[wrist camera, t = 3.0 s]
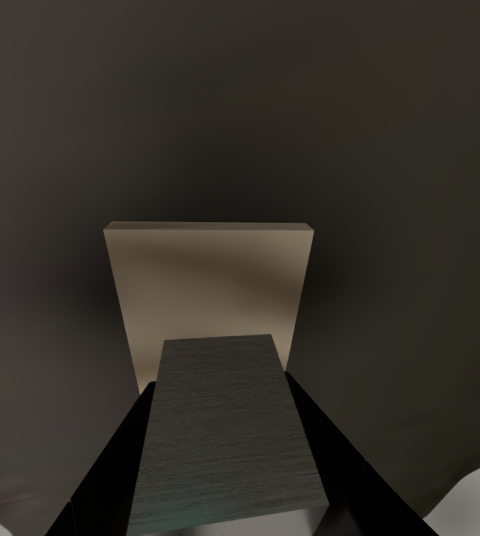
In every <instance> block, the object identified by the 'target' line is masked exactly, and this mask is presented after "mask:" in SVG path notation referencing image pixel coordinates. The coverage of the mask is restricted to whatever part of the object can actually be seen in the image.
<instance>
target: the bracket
mask: <svg viewBox="0 0 480 536" xmlns="http://www.w3.org/2000/svg"><path fill="white" fill-rule="evenodd" d="M103 231H104V236H105V240H106V245H107V249H108V254H109V258H110V263H111V267H112V271H113V276H114V280H115V285H116V289H117V294H118V298H119V303H120V307H121V312H122V316H123V321H124V325H125V330H126V334H127V339H128V343H129V347H130V352H131V356H132V361H133V365H134V370H135V374H136V379H137V383H138V388H139V392H140V395H141V393H142V392H143V390H144V389H145V387H146V386H147V385H148V383H149V382H151V381H156V380H157V375H158V369H159V364H160V359H161V354H162V349H163V344H164V340H170V339H188V338H206V337H224V336H242V335H260V334H271V335H272V338H273V341H274V344H275V347H276V350H277V352H278V355H279V358H280V361H281V364H282V367H283V370H284V371H286V366H287V361H288V356H289V351H290V347H291V342H292V337H293V332H294V327H295V322H296V317H297V312H298V308H299V303H300V298H301V293H302V288H303V283H304V278H305V273H306V268H307V264H308V259H309V254H310V249H311V244H312V239H313V234H314V230H313V229H312V228H311V227H310V226H308V225H307V224H306V223H241V222H138V221H112V222H111V223H109V224H108V225H107V226H106V227H105V228H104V229H103Z"/></svg>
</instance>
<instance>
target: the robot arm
mask: <svg viewBox="0 0 480 536" xmlns="http://www.w3.org/2000/svg"><path fill="white" fill-rule="evenodd" d="M284 373H285V376H286V379H287V382H288V385H289V388H290V391H291V394H292V397H293V399H294V402H295V405H296V408H297V411H298V414H299V417H300V420H301V423H302V426H303V429H304V432H305V435H306V438H307V441H308V444H309V447H310V449H311V452H312V455H313V458H314V461H315V464H316V467H317V470H318V473H319V476H320V479H321V482H322V485H323V488H324V491H325V494H326V496H327V499H328V502H329V507H328V508H327V510H326V512H325V514H324V516H323V518H322V520H321V522H320V523H319V525H318V527H317V529H316V531H315V533H314V535H313V536H439V535H438V534H437V533H436V532H435V531H434V530H433V529H432V528H431V527H430V526H428V524H427V523H425V521H424V520H423V519H421V518H420V517H419V516H418V515H417V514H416V513H415V512H414V511H413V510H412V509H411V508H410V507H409V506H408V505H407V504H406V503H405V502H404V501H403V500H402V499H401V498H400V497H399V496H398V494H397V493H396V492H395V491H394V490H393V489H392V488H391V487H390V486H389V485H388V484H387V483H386V482H385V481H384V480H383V478H382V477H381V476H380V475H379V474H378V473H377V472H376V471H375V470H374V468H373V467H372V466H371V465H370V464H369V463H368V462H367V461H365V459H364V457H363V456H362V455H361V454H360V453H359V452H358V451H357V449H356V448H355V447H354V446H353V445H352V444H351V443H350V441H349V440H348V439H347V438H346V437H345V436H344V435H343V434H342V432H341V431H340V430H339V429H338V428H337V427H336V426H335V425H334V423H333V422H332V421H331V420H330V419H329V418H328V417H327V416H326V414H325V413H324V412H323V411H322V410H321V409H320V408H319V406H318V405H317V404H316V403H315V402H314V401H313V400H312V399H311V397H310V396H309V395H308V394H307V393H306V392H305V391H304V390H303V388H302V387H301V386H300V385H299V384H298V383H297V382H296V381H295V379H294V378H293V377H292V376H291V375H290V374H289V373H288V372H287V371H284ZM155 385H156V381H151V382H149V383H148V385H147V386H146V387H145V389H144V390H143V392H142V393H141V395H140V396H139V398H138V399H137V401H136V402H135V404H134V405H133V407H132V408H131V410H130V411H129V413H128V414H127V416H126V417H125V418H124V420H123V421H122V423H121V424H120V426H119V427H118V429H117V430H116V432H115V433H114V435H113V436H112V438H111V439H110V441H109V442H108V444H107V445H106V447H105V448H104V450H103V451H102V452H101V454H100V455H99V457H98V458H97V460H96V461H95V463H94V464H93V466H92V467H91V469H90V470H89V472H88V473H87V475H86V476H85V478H84V479H83V481H82V482H81V483H80V485H79V486H78V488H77V489H76V491H75V492H74V494H73V495H72V497H71V498H70V502H68V503H67V504H66V505H65V507H64V508H63V510H62V511H61V513H60V514H59V516H58V517H57V519H56V520H55V522H54V523H53V525H52V526H51V527H50V529H49V530H48V532H47V533H46V534H45V536H126V534H127V529H128V524H129V519H130V514H131V508H132V503H133V498H134V493H135V488H136V483H137V477H138V472H139V467H140V462H141V457H142V452H143V447H144V441H145V436H146V431H147V426H148V421H149V416H150V411H151V405H152V400H153V395H154V390H155Z"/></svg>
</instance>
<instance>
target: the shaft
mask: <svg viewBox="0 0 480 536" xmlns="http://www.w3.org/2000/svg"><path fill="white" fill-rule="evenodd" d="M328 507H329V502H328V499H327V496H326V494H325V491H324V488H323V485H322V482H321V479H320V476H319V473H318V470H317V467H316V464H315V461H314V458H313V455H312V452H311V449H310V447H309V444H308V441H307V438H306V435H305V432H304V429H303V426H302V423H301V420H300V417H299V414H298V411H297V408H296V405H295V402H294V399H293V397H292V394H291V391H290V388H289V385H288V382H287V379H286V376H285V373H284V370H283V367H282V364H281V361H280V358H279V355H278V352H277V350H276V347H275V344H274V341H273V338H272V335H271V334H260V335H242V336H224V337H206V338H188V339H170V340H164V344H163V349H162V354H161V359H160V364H159V369H158V375H157V380H156V385H155V390H154V395H153V400H152V405H151V411H150V416H149V421H148V426H147V431H146V436H145V441H144V447H143V452H142V457H141V462H140V467H139V472H138V477H137V483H136V488H135V493H134V498H133V503H132V508H131V514H130V519H129V524H128V529H127V534H126V536H313V535H314V533H315V531H316V529H317V527H318V525H319V523H320V522H321V520H322V518H323V516H324V514H325V512H326V510H327V508H328Z"/></svg>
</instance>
